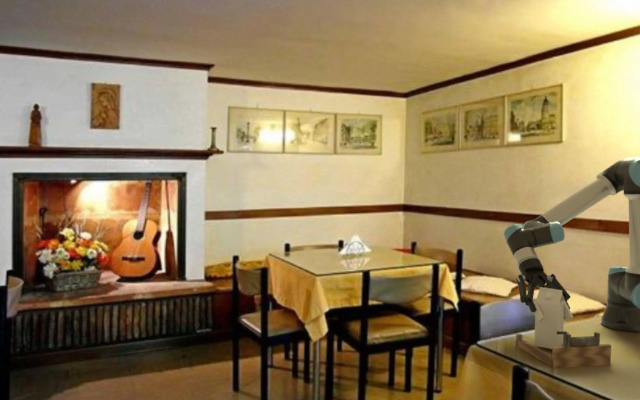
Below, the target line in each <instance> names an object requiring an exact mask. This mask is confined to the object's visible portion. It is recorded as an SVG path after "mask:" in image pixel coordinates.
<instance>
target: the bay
mask: <svg viewBox="0 0 640 400" xmlns="http://www.w3.org/2000/svg"><path fill="white" fill-rule="evenodd" d="M556 333H557V335H559V334H563V345H562V346H558V347H553V348H552V349H551V350H552V353H551V354H550V353H548V352H546V351H545V350H543V349H540V348H539V347H538V346H535V345H534V344H531V343H530V342H528V341H526V340H525V339H523V334H521V333H516V334H515V347H517V348H519V349H521V350H522V351H524V352H526V353H527V354H529V355H531V356H533V357H534V358H536V359H537V360H539V361H541V362H543V363H545V364H547V365H548V366H550V367H552V369H553V368H554V369H563V368H578V367H579V368H582V367H597V366H598V367H599V366H610V365H611V364H612V363H611V360H612V345H611V344H609V343H604V344H601V341H600V340H601V333H600V332H598V331H596V332H595V331H594V333H593V335H588V336H586V335H585V336H572V334H570V332H568V331H566V330H563V331H557V332H556Z"/></svg>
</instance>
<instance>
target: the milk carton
mask: <svg viewBox="0 0 640 400" xmlns="http://www.w3.org/2000/svg"><path fill="white" fill-rule="evenodd" d="M538 288H539V289H538V293H537V296H536V299H535V301H536V302H537V304H538V306H539V309H540V311H541V313H542V315H543V317H544V319H543V320H542V321H541V322H538V321H537V319H536V317H535V318H534V342H533V346H535V347H540V348H541V347H542V348H545V349H549V350H552V348H553V347H558V346H564V344H563V334H559V335H557V333H556V332H557V331H564V330H565V329H564V325H565V316H564V305H565V300H564V297H563V294H562V290H557V289H550V288H543V287H538Z"/></svg>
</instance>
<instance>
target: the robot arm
mask: <svg viewBox="0 0 640 400" xmlns="http://www.w3.org/2000/svg"><path fill="white" fill-rule="evenodd" d="M622 191H623V196H624V197H626V198H627V199H628V229H629V230H628V232H629V233H628V234H629V236H628V237H629V241H628V242H629V243H628V244H629V266H611V267H609V269H608V274H607V296H606V297H607V299H606V301H607V303H606V307H605V309H604V311H603V314H602V316H601V318H600V319H601V320H600V324H601V325H603V326H604V327H606V328H610V329H613V330H618V331H624V332H633V333H634V332H635V333H637V332H640V156H629V157H625V158H621V159H619V160H618V161H616V162H614V163H613V164H612V165H610V166H609V167H607V168H606V169H604V170H603V171H602V172H601V171H600V173H598V174H597V175H596V179H594V180H592V181H591V182H589V183H588V184H587V185H585V186H583V187H582V188H580V189H579V190H577V191H576V192H574V193H573V194H571V195H569V196H568V197H567V198H565V199H563V200H562V201H561V202H559V203H557V204H555V206H553V207H552V208H550V209H548V210H547V211H545V212H544V213H541V214H540V215H539V216H538V217H536V218H535V219H531V220H527V221H525V222H524V224H523V225H522V224H518V223H517V224H516V223H515V224H511V225H509V226H508V227H506V228H505V230H504V231H503V235H504V238H505V241H506V244H507V246H508V248H509V250H510V252H511V254H512V257H513V259H514V261H515V263H516V265H517V268H518V269H519V270H518V271H520V274H518V276H516V278H515V280H516V282H517V285H518V292H519V300H520V303H522V304H524V303H525V306H527V307H528V308H529V311H530V312H531V313H533V314H534V316H535V317H536V319H537V321H538V322H541V321H542V320H543V319H544V317H543V315H542V313H541V311H540V309H539V306H538V304H537V302H536V300H534V295H535V288H539V287H543V288H550V289H557V290H562V294H563V297H564V300H565V305H564V319H565V320H566V322H570V321H571V320H572V319H573V318H574V316H573V314H572V313H573V312H571V306H570V305H569V302H568V301H569V299H570V298H571V295H570V293H569V292H568V291H567V290H566V289H565V287H563V285H562V284H561V282H559V281H558V279H557V277H556V275H555V274H554V273H551V274H549V275H548V274H547V273H546V272H545V270H544V265H543V264H542V262H541V260H540V258H539V256H538V254H537V252H536V250H535V249H537V248H542V247H545V246H549V245H553V244H557V243H559V242H563V241H564V240H565V238H566V237H565V234H566V233H565V231H564V228H563V225H565V224H567V223H568V222H570V221H571V220H573V219H574V218H576V217H578V216H579V215H581V214H582V213H584V212H585V211H587V210H589V209H590V208H591V207H594V205H597V204H598V203H599V202H601V201H602V200H604V199H605V198H607V197H608V196H616V195H617V194H619V193H621V192H622ZM526 283H527V288H526Z"/></svg>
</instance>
